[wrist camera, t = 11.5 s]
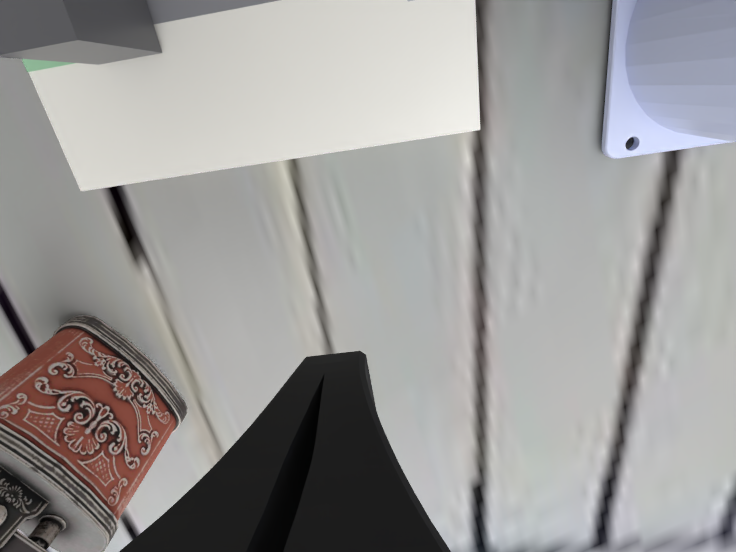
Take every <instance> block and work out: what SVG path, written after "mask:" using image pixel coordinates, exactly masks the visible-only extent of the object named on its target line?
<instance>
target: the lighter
mask: <svg viewBox="0 0 736 552" xmlns="http://www.w3.org/2000/svg"><path fill="white" fill-rule="evenodd" d="M186 414H187V406H186V404H185V402H184V401H183V399H182V398H181V397H180V395H179V394H178V392H177V391H176V390H175V388H174V387H173V385H172V384H171V383H170V381H169V380H168V379H167V378H166V377H165V376H164V375H163V374H162V372H161V371H160V370H159V369H158V368H157V367H156V366H155V365H154V364H153V362H152V361H151V360H150V359H149V358H147V357H146V356H145V355H144V354H143V353H142V352H141V351H140V350H138V349H137V348H136V347H135V346H134V345H133V344H132V343H131V342H129V341H128V340H127V339H126V338H125V337H123V336H122V335H121V334H119V333H118V332H116V331H115V330H114V329H112V328H111V327H110V326H108V325H107V324H106V323H104V322H103V321H102V320H100V319H98V318H96V317H93V316H89V315H80V316H76V317H74V318H71V319H70V320H68V321H67V322H66V323H64V324H63V325H62V326H60V327H59V328H58V329H57V330H56V331H55V332H54V335H53V337H52V338H51V339H49V340H48V341H47V342H45V343H44V344H43V345H41V346H40V347H39V348H37V349H36V350H35V351H34V352H32V353H31V354H30V355H28V356H27V357H26V358H24V359H23V360H22V361H20V362H19V363H18V364H16V365H15V366H14V367H12V368H11V369H10V370H8V371H7V372H6V373H4V374H3V375H2V376H0V552H47V551H46V550H45V549H47V548H48V547H49V546H50V547H52V548H53V549H55V550H57V551H59V552H103V551H105V549H106V547H107V546H108V544H109V542H110V541H111V539H112V537H113V536H114V534H115V532H116V530H117V529H118V519H119V518H120V516H121V514H122V513H123V511H124V510H125V508H126V506H127V505H128V503H129V501H130V500H131V498H132V496H133V495H134V493H135V492H136V490H137V488H138V487H139V485H140V483H141V482H142V480H143V478H144V477H145V475H146V474H147V472H148V470H149V469H150V467H151V465H152V464H153V462H154V461H155V459H156V457H157V456H158V454H159V452H160V451H161V449H162V447H163V446H164V444H165V443H166V441H167V439H168V438H169V436H170V434H172V433H173V432H175V431H176V430H177V429H178V428H179V426H180V424H181V423H182V421H183V419H184V418H185V416H186ZM17 529H19V530H21V531H23V532H24V533H26V534H27V535H29V537H28V538H27V537H26V536H24V535H23V534H22V533H20V532H19V531H17Z"/></svg>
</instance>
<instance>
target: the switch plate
mask: <svg viewBox="0 0 736 552" xmlns="http://www.w3.org/2000/svg"><path fill="white" fill-rule="evenodd" d="M146 2H147V5H148V8H149V11H150V14H151V18H152V21H153V24H154V27H155V30H156V34H157V37H158V40H159V43H160V46H161V49H162V53H160V54H154V55H149V56H143V57H138V58H133V59H127V60H122V61H116V62H111V63H105V64H100V65H96V64H83V63H70V62H57V61H44V60H31V59H22V61H23V63H24V66H25V68H26V70H27V72H29V75H30V77H31V79H32V81H33V84H34V86H35V88H36V90H37V93H38V95H39V97H40V100H41V102H42V104H43V106H44V109H45V111H46V113H47V115H48V118H49V120H50V122H51V125H52V127H53V129H54V131H55V134H56V136H57V138H58V140H59V143H60V145H61V147H62V150H63V152H64V154H65V156H66V159H67V161H68V163H69V165H70V168H71V170H72V172H73V175H74V177H75V179H76V181H77V184H78V186H79V188H80V190H81V191H87V190H93V189H100V188H106V187H113V186H119V185H126V184H132V183H139V182H145V181H152V180H158V179H165V178H171V177H178V176H184V175H191V174H197V173H204V172H210V171H217V170H223V169H230V168H236V167H243V166H249V165H255V164H262V163H268V162H275V161H281V160H288V159H294V158H301V157H307V156H314V155H320V154H327V153H333V152H340V151H346V150H353V149H359V148H366V147H372V146H379V145H385V144H392V143H398V142H405V141H411V140H417V139H424V138H430V137H437V136H443V135H450V134H456V133H463V132H469V131H476V130H480V111H479V85H478V60H477V34H476V8H475V0H146Z"/></svg>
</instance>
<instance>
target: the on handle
mask: <svg viewBox="0 0 736 552" xmlns="http://www.w3.org/2000/svg"><path fill="white" fill-rule="evenodd" d="M160 53H162V49H161V46H160V43H159V40H158V37H157V34H156V30H155V27H154V24H153V21H152V18H151V14H150V11H149V8H148V5H147V2H146V0H0V57H5V58H18V59H31V60H44V61H57V62H70V63H83V64H96V65H100V64H105V63H111V62H116V61H122V60H127V59H133V58H138V57H143V56H149V55H154V54H160Z"/></svg>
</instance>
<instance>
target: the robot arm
mask: <svg viewBox="0 0 736 552" xmlns="http://www.w3.org/2000/svg"><path fill="white" fill-rule="evenodd" d="M631 137H633V138H634V143H633V145H632V146H631V147H630V148H629V149H626V146H625V144H626V141H627V140H628V139H629V138H631ZM728 142H736V0H613V4H612V17H611V30H610V43H609V56H608V69H607V82H606V95H605V108H604V121H603V134H602V152H603V153H604V155H606V156H608V157H610V158H624V157H631V156H638V155H645V154H652V153H659V152H666V151H673V150H680V149H687V148H694V147H701V146H707V145H714V144H721V143H728ZM120 552H451V551H450V550H449V548H448V547H447V545H446V543H445V542H444V540H443V539H442V537H441V536H440V534H439V533H438V531H437V530H436V528H435V527H434V525H433V523H432V522H431V520H430V519H429V517H428V515H427V513H426V512H425V510H424V508H423V507H422V505H421V503H420V501H419V500H418V498H417V496H416V495H415V493H414V491H413V489H412V487H411V485H410V484H409V482H408V480H407V478H406V476H405V474H404V472H403V471H402V469H401V467H400V465H399V463H398V461H397V459H396V456H395V454H394V452H393V450H392V448H391V446H390V444H389V441H388V439H387V437H386V435H385V432H384V430H383V427H382V425H381V423H380V420H379V417H378V415H377V412H376V407H375V402H374V396H373V391H372V385H371V380H370V375H369V369H368V364H367V358H366V355H365V354H364V353H362V352H361V351H355V352H346V353H337V354H328V355H319V356H310V357H306V358H305V359H304V360H303V362H302V363H301V364H300V365H299V366H298V368H297V369H296V370H295V371H294V373H293V374H292V375H291V377H290V378H289V379H288V380H287V382H286V383H285V384H284V386H283V387H282V388H281V389H280V391H279V392H278V393H277V394H276V396H275V397H274V398H273V399H272V401H271V402H270V403H269V404H268V406H267V407H266V408H265V409H264V410H263V412H262V413H261V414H260V415H259V416H258V418H257V419H256V420H255V421H254V422H253V424H252V425H251V426H250V427H249V428H248V429H247V431H246V432H245V433H244V434H243V435H242V436H241V437H240V438H239V439H238V441H237V442H236V443H235V444H234V445H233V446H232V447H231V448H230V449H229V451H228V452H227V453H226V454H225V455H224V456H223V457H222V458H221V459H220V460H219V461H218V462H217V464H216V465H215V466H214V467H213V468H212V469H211V470H210V471H209V472H208V473H207V474H206V475H205V476H204V477H203V478H202V479H201V480H200V481H199V482H198V483H197V484H196V485H194V486H193V487H192V488H191V489H190V490H189V491H188V492H187V493H186V494H185V495H184V496H183V497H182V498H181V499H180V500H179V501H177V502H176V503H175V504H174V505H173V506H172V507H171V508H170V509H169V510H168V511H167V512H165V513H164V514H163V515H162V516H161V517H160V518H159V519H157V520H156V521H155V522H154V523H153V524H152V525H150V526H149V527H148V528H147V529H146V530H144V531H143V532H142V533H141V534H140V535H139V536H137V537H136V538H135V539H134V540H133V541H131V542H130V543H129V544H128V545H127V546H125V547H124V548H123V549H122V550H121V551H120Z"/></svg>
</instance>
